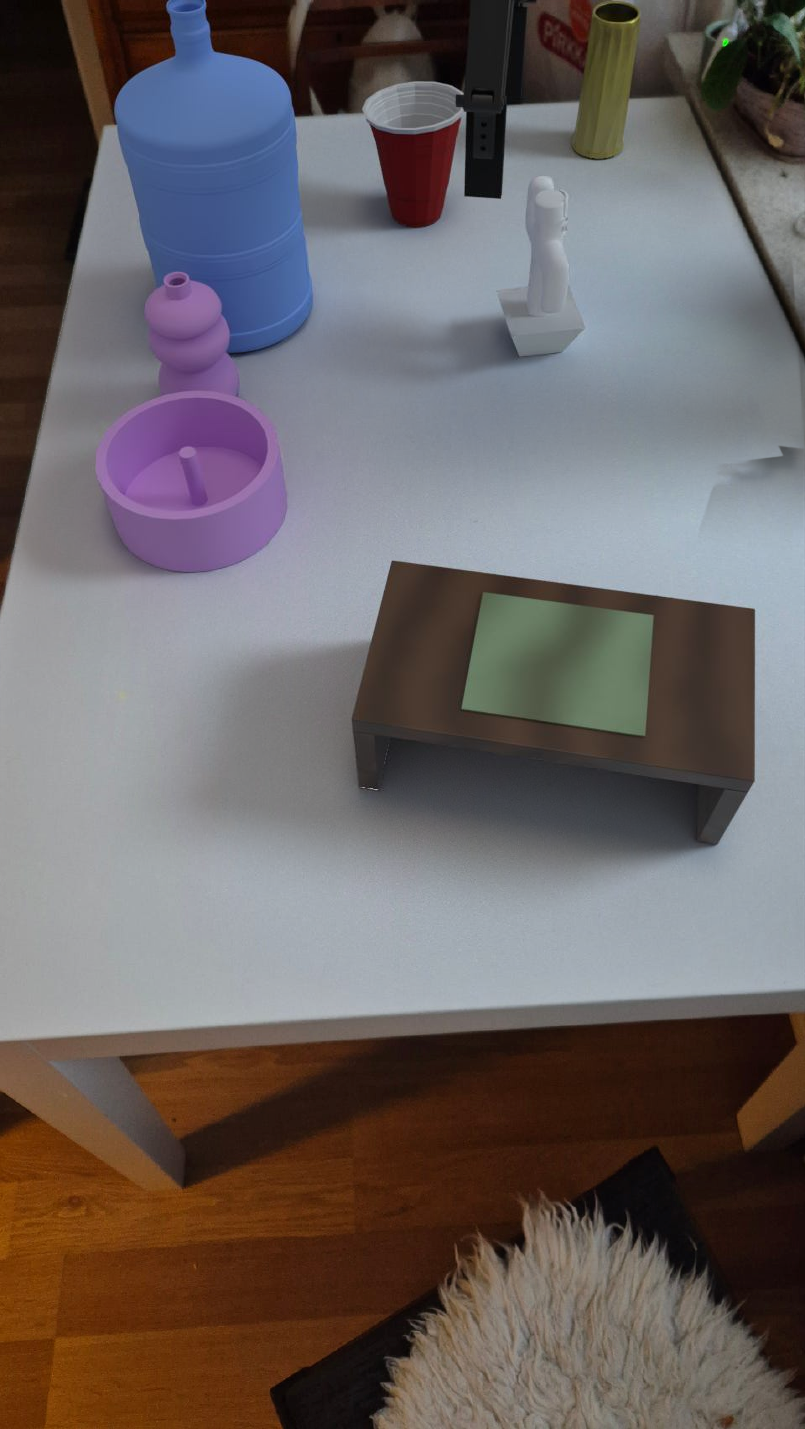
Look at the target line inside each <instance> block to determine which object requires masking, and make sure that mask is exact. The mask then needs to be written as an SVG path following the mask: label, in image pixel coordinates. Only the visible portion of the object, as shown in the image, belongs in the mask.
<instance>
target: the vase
mask: <svg viewBox="0 0 805 1429" xmlns="http://www.w3.org/2000/svg"><path fill="white" fill-rule="evenodd" d="M641 18H642V11H641V9H640V8H639V7H638V6H637V5H635V4H633V3H630V2H627V1H624V0H623V1H622V0H607V1H603V2H600V3H598V4H597V5H596V6H594V8H593V10H592V12H591V20H590V25H589V26H590V28H589V34H588V41H587V49H586V58H585V63H584V69H583V75H582V81H581V86H580V87H581V88H580V92H579V93H580V94H579V100H578V101H579V102H578V109H577V114H576V115H577V116H576V120H575V127H574V131H573V135H572V138H571V146H572V149H573V150H574V151H575V152H576V153H577V154H578V155H580V156H582V157H585V156H586V157H585V158H588V157H589V159H592V158H594V160H604V158H606V159H609V157H610V158H613V157H615V156H617V155H618V154H620V152H622V150H623V148H624V140H623V139H624V138H623V137H624V132H625V127H626V122H627V115H628V108H629V102H630V93H631V89H632V80H633V71H634V65H635V58H636V51H637V44H638V39H639V34H640V26H641V20H642V19H641ZM612 156H613V157H612Z"/></svg>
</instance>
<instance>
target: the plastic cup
mask: <svg viewBox="0 0 805 1429" xmlns="http://www.w3.org/2000/svg"><path fill="white" fill-rule="evenodd" d="M456 94H459V95H464V92H463V91H462V90H459V88H457V87H454V86H453V85H450V84H447V83H442V82H437V81H409V82H402V83H397V84H396V83H395V84H393V85H390V86H388V87H385V88H382V89H380V90H377V91H376V92H374V93H373V94H372V95H370V96H369V97H368V98H366V100H365V102H364V104H363V106H362V108H361V110H362V112H363V115H364V119H365V120H366V123H367V124H368V125H369V127H370V129H371V133H372V136H373V139H374V143H375V146H376V152H377V157H378V161H379V166H380V170H381V175H382V181H383V185H384V188H385V191H386V198H387V202H388V208H389V211H390V214H391V217H392V219H393V220H394V221H395V222H396V223H397V224H399V225H402V226H405V227H406V228H407V227H408V228H409V227H410V228H423V227H428V226H431V225H433V224H436V222H437V221H438V220H440V219H441V216H442V213H443V210H444V207H445V201H446V195H447V191H448V190H447V189H448V186H449V183H450V178H451V172H452V166H453V161H454V156H455V150H456V144H457V138H458V135H459V130H460V125H461V122H462V117H463V116H464V114H465V112H464V109H463V108H461V107H456Z"/></svg>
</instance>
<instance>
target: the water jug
mask: <svg viewBox="0 0 805 1429" xmlns="http://www.w3.org/2000/svg"><path fill="white" fill-rule="evenodd" d="M165 7H166V12H167V13H168V14H169V17H170V23H171V24H170V33H171V37H172V40H173V43H174V44H173V45H174V49H175V55H174V56H172V57H169V58H168V59H165V60H163V61H161V62H158V63H156V64H154V65H152V66H149V67H147V68H146V69H143V70H141V71H140V72H138V73H137V74H135V75H134V76H133V77H131V78H130V79H129V80H128V81H127V82H126V83H125V84H124V85H123V86H122V88H121V89H120V91H119V92H118V94H117V96H116V99H115V102H114V111H113V112H114V118H115V123H116V132H117V138H118V142H119V146H120V150H121V154H122V157H123V160H124V163H125V165H126V168H127V171H128V176H129V180H130V185H131V187H132V188H131V189H132V192H133V195H134V196H133V197H134V201H135V204H136V208H137V212H138V220H139V227H140V231H141V235H142V240H143V242H144V246H145V248H146V250H147V253H148V255H149V261H150V266H151V270H152V273H153V278H154V281H155V285H156V289H158V288H159V287H161V286H162V285H164V281H163V280H164V278H165V276H166V275H168V274H170V273H173V272H183V273H186V274H187V275H188V276H189V280H192V281H196V282H200V283H203V284H205V285H207V286H209V287H211V288H212V289H213V290H214V291H215V293H216V294H217V296H218V297H219V299H220V300H221V304H222V310H221V314H222V316H223V317H224V318H225V320H226V322H227V325H228V328H229V331H230V338H229V345H228V348H227V350H226V353H227V354H233V353H235V354H238V353H248V352H253V351H257V350H261V349H264V348H267V347H270V346H273V345H275V344H278V343H279V342H281V341H283V340H285V339H286V338H288V337H289V336H291V335H292V334H293V333H295V332H296V331H297V330H298V329H299V328H301V326H302V325H303V324H304V322H306V320H307V318H308V317H309V314H310V312H311V310H312V306H313V302H314V301H313V300H314V292H313V283H312V282H313V280H312V277H311V273H310V267H309V256H308V248H307V239H306V235H305V230H304V221H303V213H302V208H301V198H300V187H299V160H298V149H297V143H298V142H297V141H298V140H297V138H298V137H297V135H298V134H297V125H296V116H295V111H294V107H293V103H292V102H293V101H292V94H291V91H290V88H289V85H288V84H287V82H286V81H285V79H284V78H283V77H282V76H281V75H280V74H279V72H277V71H276V70H275V69H273V68H271V67H270V66H268V65H267V64H265V63H262V62H260V61H257V60H255V59H251V58H249V57H243V56H239V55H234V54H228V53H222V52H217V51H214V49H213V46H212V40H211V26H210V23H209V21H208V20H207V15H206V9H207V2H206V0H168V1H167V2H166V5H165Z"/></svg>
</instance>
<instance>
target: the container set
mask: <svg viewBox="0 0 805 1429" xmlns="http://www.w3.org/2000/svg"><path fill="white" fill-rule="evenodd" d="M163 281H164V285H162V286H161V287H159V288H158V289H157V288H156V289H155V290H153V291H152V293H151V294H149V296H148V297H147V299H146V301H145V305H144V313H143V316H144V319H145V321H146V323H147V324H148V326H149V327H148V331H147V340H148V346H149V348H150V350H151V352H152V353H153V355H154V357H155V358H156V359H157V360H158V361H159V362H160V363H161V365H160V368H159V373H158V387H159V390H160V394H161V396H158V397H155V398H152V399H149V400H146V401H144V402H143V403H141V404H138V405H136V406H134V407H132V408H131V409H130V410H128V411H127V412H125V413H124V414H122V415H121V416H120V417H119V418H118V419H116V420H115V422H113V424H111V426H109V427H108V429H107V430H106V432H105V434H103V436H102V438H100V442H99V445H98V447H97V449H96V452H95V459H94V460H95V461H94V462H95V463H94V467H95V472H96V473H95V474H96V478H97V481H98V483H99V486H100V488H101V491H102V492H101V493H102V495H103V497H104V499H105V502H106V505H107V508H108V510H109V513H110V516H111V518H112V521H113V524H114V527H115V530H116V532H117V533H118V537H119V538H120V541H121V542H122V544H123V545H124V546H125V547H126V548H127V549H128V551H129V552H130V553H132V554H133V555H135V556H136V557H137V558H138V559H140V560H141V561H143V562H145V563H147V564H149V565H151V566H154V567H156V568H158V569H159V568H160V569H162V570H167V571H171V572H179V573H180V572H182V573H199V572H200V573H201V572H211V571H214V570H218V569H224V568H226V567H229V566H232V565H235V564H237V563H240V562H242V561H245V559H248V558H249V557H251V556H252V555H255V554H256V553H258V552H259V551H260V550H261V549H263V547H265V546H266V545H267V544H268V543H269V542H270V541H271V540H272V538H273V537H274V536H275V535H276V534H277V533H278V532H279V529H280V528H281V526H282V524H283V522H284V520H285V518H286V517H285V516H286V512H287V509H288V494H287V487H286V481H285V480H286V479H285V474H284V467H283V460H282V455H281V448H280V442H279V437H278V433H277V431H276V427H275V426H274V424H273V423H272V422H271V420H270V419H269V417H268V416H267V415H266V414H265V413H264V412H263V411H262V410H261V409H260V408H259V407H257V406H256V405H254V404H253V403H250V402H249V401H247V400H246V399H243V398H240V397H238V393H239V390H240V374H239V371H238V367H237V366H236V363H235V361H234V360H233V358H232V357H231V356H230V354H229V353H226V350H227V348H228V345H229V338H230V331H229V328H228V325H227V322H226V320H225V318H224V317H223V316H222V314H221V310H222V304H221V300H220V299H219V297H218V296H217V294H216V293H215V291H214V290H213V289H212V288H211V287H209V286H207V285H205V284H203V283H200V282H196V281H192V280H189V276H188V275H187V274H186V273H183V272H173V273H170V274H168V275H166V276H165V278H164V280H163Z"/></svg>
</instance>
